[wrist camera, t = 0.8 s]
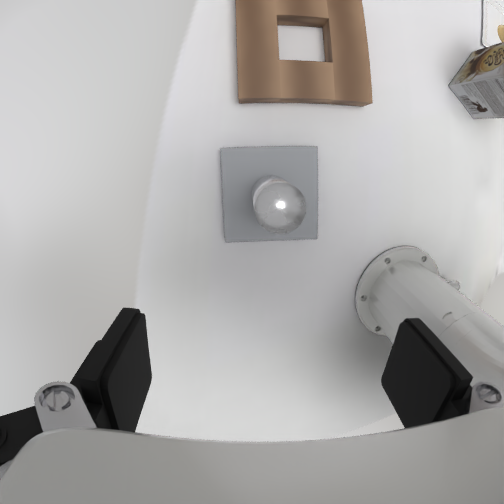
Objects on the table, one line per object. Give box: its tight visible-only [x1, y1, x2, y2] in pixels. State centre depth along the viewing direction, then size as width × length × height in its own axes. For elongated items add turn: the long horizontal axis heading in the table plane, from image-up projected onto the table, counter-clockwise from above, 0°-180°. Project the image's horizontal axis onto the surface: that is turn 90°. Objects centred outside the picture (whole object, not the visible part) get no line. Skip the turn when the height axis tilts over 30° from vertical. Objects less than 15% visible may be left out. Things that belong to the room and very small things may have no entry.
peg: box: [252, 175, 306, 234], centre depth 28 cm, size 4×4×9 cm
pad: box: [221, 146, 318, 242], centre depth 34 cm, size 10×10×2 cm
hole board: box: [236, 0, 372, 107], centre depth 28 cm, size 14×14×3 cm
